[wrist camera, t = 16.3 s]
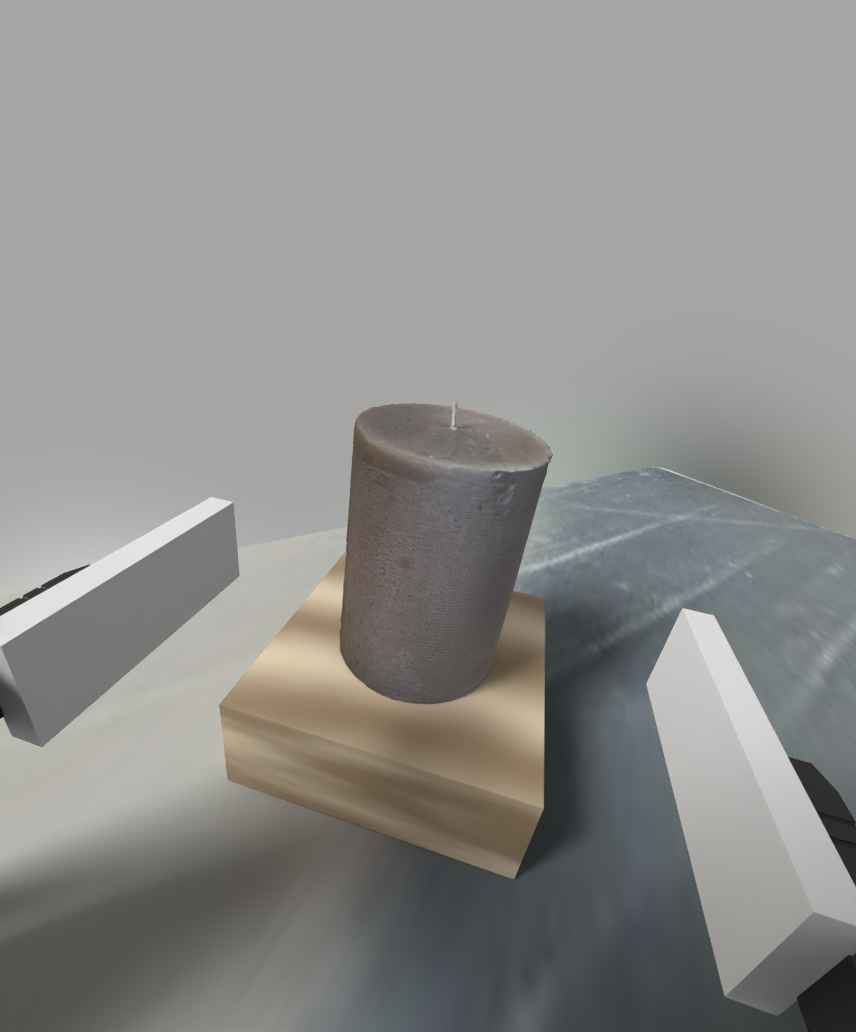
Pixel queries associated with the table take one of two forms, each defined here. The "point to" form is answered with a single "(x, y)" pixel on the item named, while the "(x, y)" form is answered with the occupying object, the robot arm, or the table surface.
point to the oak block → (397, 738)
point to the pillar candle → (434, 545)
